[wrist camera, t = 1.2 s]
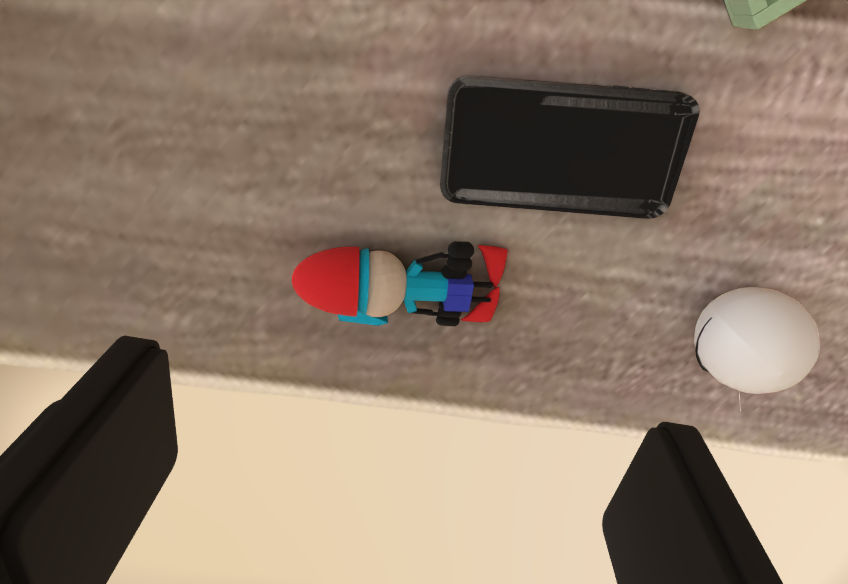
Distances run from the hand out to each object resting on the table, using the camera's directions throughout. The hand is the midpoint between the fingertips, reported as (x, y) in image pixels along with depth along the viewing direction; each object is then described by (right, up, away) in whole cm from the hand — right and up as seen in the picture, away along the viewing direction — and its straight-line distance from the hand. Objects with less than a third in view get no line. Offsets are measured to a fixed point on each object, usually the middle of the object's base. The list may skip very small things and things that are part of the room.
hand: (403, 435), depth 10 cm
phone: (+9, +12, +23) cm, 28 cm away
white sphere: (+23, 0, +30) cm, 38 cm away
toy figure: (-1, +4, +29) cm, 29 cm away
